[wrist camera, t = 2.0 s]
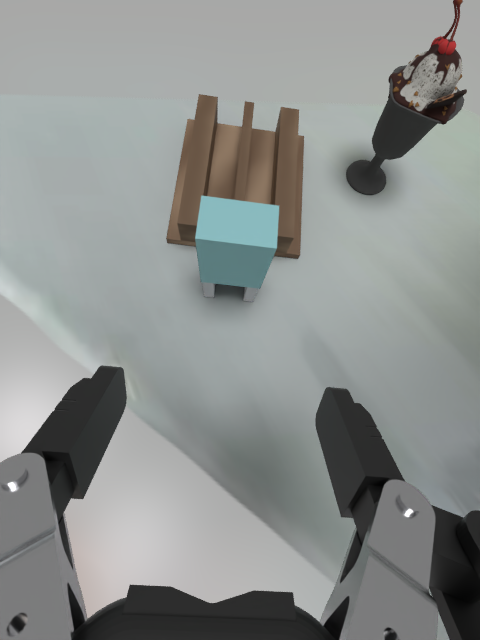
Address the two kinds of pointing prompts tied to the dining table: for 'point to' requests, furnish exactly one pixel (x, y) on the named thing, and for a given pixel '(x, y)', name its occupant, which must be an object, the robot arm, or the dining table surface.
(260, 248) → the aqua box with feet
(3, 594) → the robot arm
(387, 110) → the sundae
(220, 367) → the dining table surface
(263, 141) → the rail
